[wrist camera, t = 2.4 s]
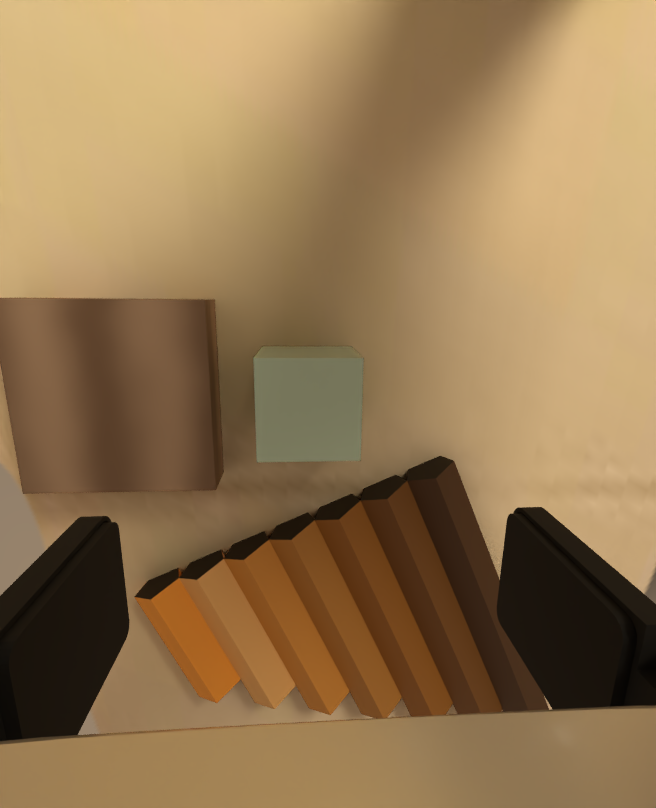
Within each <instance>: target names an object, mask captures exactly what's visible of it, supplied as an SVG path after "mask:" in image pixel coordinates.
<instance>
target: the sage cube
mask: <svg viewBox="0 0 656 808" xmlns="http://www.w3.org/2000/svg"><path fill="white" fill-rule="evenodd" d="M253 361H254V393H255V425H256V456H257V462H319V461H361V433H362V400H363V366H364V358H363V357H362V356H361V355H360V354H359V353H358V352H357V351H356V350H355V349H354V348H352V347H351V346H262V347H261V349H260V350H259V351H258V353H257V354H256V355H255V357H254V358H253Z"/></svg>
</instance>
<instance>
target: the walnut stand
mask: <svg viewBox="0 0 656 808" xmlns="http://www.w3.org/2000/svg"><path fill="white" fill-rule="evenodd" d="M0 364H1V369H2V375H3V381H4V387H5V393H6V398H7V404H8V410H9V416H10V421H11V427H12V433H13V439H14V445H15V450H16V456H17V462H18V468H19V474H20V479H21V485H22V491H23V494H27V493H81V492H135V491H189V490H216V488H217V486H218V484H219V481H220V479H221V477H222V474H223V472H224V470H223V450H222V431H221V412H220V392H219V373H218V353H217V334H216V314H215V300H192V299H88V298H0Z"/></svg>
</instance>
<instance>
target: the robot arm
mask: <svg viewBox="0 0 656 808" xmlns="http://www.w3.org/2000/svg"><path fill="white" fill-rule="evenodd" d="M497 617H498V620H499V623H500V625H501V626H502V628H503V630H504V631H505V633H506V635H507V636H508V638H509V639H510V641H511V643H512V644H513V646H514V647H515V649H516V651H517V652H518V654H519V656H520V657H521V659H522V660H523V662H524V664H525V665H526V667H527V668H528V670H529V672H530V673H531V675H532V677H533V678H534V680H535V681H536V683H537V685H538V686H539V688H540V689H541V691H542V693H543V694H544V696H545V698H546V699H547V701H548V702H549V704H550V706H551V707H552V709H553V710H531V711H510V712H489V713H469V714H450V715H430V716H411V717H392V718H373V719H354V720H335V721H317V722H298V723H280V724H262V725H244V726H226V727H208V728H190V729H174V730H157V731H140V732H123V733H106V734H89V735H78V733H79V731H80V729H81V727H82V725H83V723H84V721H85V719H86V717H87V715H88V713H89V711H90V709H91V707H92V705H93V703H94V701H95V699H96V697H97V695H98V693H99V691H100V689H101V687H102V685H103V683H104V681H105V679H106V678H107V676H108V674H109V672H110V670H111V668H112V666H113V664H114V662H115V660H116V658H117V656H118V654H119V652H120V650H121V648H122V646H123V644H124V642H125V640H126V638H127V635H128V630H129V614H128V606H127V597H126V588H125V579H124V570H123V561H122V553H121V544H120V535H119V528H118V525H117V523H116V522H111V520H110V518H109V517H107V516H93V517H80V518H78V519H77V520H76V521H75V522H74V523H73V524H72V525H71V526H70V527H69V528H68V529H67V530H66V531H65V532H64V533H63V534H62V535H61V536H60V537H59V538H58V539H57V540H56V541H55V542H54V543H53V544H52V545H51V546H50V547H49V548H48V549H47V550H46V551H45V552H44V553H43V554H42V555H41V556H40V557H39V558H38V559H37V560H36V561H35V562H34V563H33V564H32V565H31V566H30V567H29V568H28V569H27V570H26V571H25V572H24V573H23V574H22V575H21V576H20V577H19V578H18V579H17V580H16V581H15V582H14V583H13V584H12V585H11V586H10V587H9V588H8V589H7V590H6V591H5V592H4V593H3V594H2V595H1V596H0V808H656V604H655V603H654V602H653V601H651V600H650V599H649V598H648V597H647V596H646V595H644V594H643V593H642V592H641V591H640V590H639V589H637V588H636V587H635V586H634V585H633V584H632V583H630V582H629V581H628V580H627V579H626V578H625V577H623V576H622V575H621V574H620V573H619V572H617V571H616V570H615V569H614V568H613V567H612V566H610V565H609V564H608V563H607V562H606V561H605V560H603V559H602V558H601V557H600V556H599V555H598V554H596V553H595V552H594V551H593V550H592V549H591V548H589V547H588V546H587V545H586V544H585V543H584V542H582V541H581V540H580V539H579V538H578V537H577V536H575V535H574V534H573V533H572V532H571V531H570V530H568V529H567V528H566V527H565V526H564V525H563V524H561V523H560V522H559V521H558V520H557V519H555V518H554V517H553V516H552V515H551V514H550V513H548V512H547V511H546V510H545V509H544V508H542V507H527V508H517V509H515V511H514V514H510V515H509V516H508V518H507V525H506V533H505V541H504V550H503V558H502V566H501V575H500V583H499V591H498V599H497Z"/></svg>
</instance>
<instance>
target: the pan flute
mask: <svg viewBox="0 0 656 808" xmlns="http://www.w3.org/2000/svg"><path fill="white" fill-rule="evenodd" d="M499 583H500V580H499V577H498V575H497V572H496V570H495V567H494V564H493V562H492V559H491V557H490V554H489V551H488V549H487V546H486V543H485V541H484V538H483V536H482V533H481V530H480V528H479V525H478V523H477V520H476V517H475V515H474V512H473V509H472V507H471V504H470V502H469V499H468V496H467V494H466V491H465V489H464V486H463V483H462V481H461V478H460V475H459V473H458V470H457V468H456V465H455V462H454V461H453V460H450V459H447V458H445V457H442V456H439V457H437V458H434V459H432V460H429V461H427V462H425V463H422V464H420V465H418V466H415V467H413V468H411V469H408V477H407V481H406V480H404V479H403V478H401V477H399V476H397V475H394V476H392V477H390V478H387V479H385V480H383V481H380V482H378V483H376V484H373V485H371V486H369V487H366V488H364V490H363V494H362V497H361V501H360V500H359V499H358V498H356V497H355V496H354V495H352V494H350V495H348V496H345V497H343V498H341V499H338V500H336V501H334V502H331V503H329V504H327V505H324V506H322V507H320V508H319V511H318V513H317V516H316V518H315V520H314V519H313V518H312V517H311V516H310V515H309V513H306V514H303V515H301V516H299V517H296V518H294V519H291V520H289V521H287V522H284V523H282V524H280V525H277V526H276V528H275V529H274V531H273V533H272V535H271V537H270V539H268V537H267V535H266V533H265V532H264V531H263V532H261V533H259V534H256V535H254V536H252V537H249V538H247V539H245V540H242V541H240V542H238V543H235V544H233V545H232V547H231V549H230V550H229V552H228V553H227V555H226V556H225V555H224V554H223V552H222V550H219V551H217V552H214V553H212V554H210V555H207V556H205V557H203V558H200V559H198V560H196V561H193V562H191V563H190V564H189V565H188V567H187V568H186V569H185V571H184V572H183V573H181V571H180V570H179V568H177V569H175V570H172V571H170V572H168V573H165V574H163V575H161V576H158V577H156V578H154V579H151V580H149V581H147V583H146V584H145V585H144V586H143V587H142V589H141V590H140V591H139V592H138V593H137V595H136V596H135V599H136V600H137V602H138V603H139V605H140V606H141V608H142V609H143V611H144V612H145V614H146V615H147V617H148V619H149V620H150V622H151V623H152V625H153V626H154V628H155V629H156V631H157V632H158V634H159V635H160V637H161V638H162V640H163V642H164V643H165V645H166V646H167V648H168V649H169V651H170V652H171V654H172V655H173V657H174V658H175V660H176V661H177V663H178V665H179V666H180V668H181V669H182V671H183V672H184V674H185V675H186V677H187V678H188V680H189V681H190V683H191V684H192V686H193V688H194V689H195V691H196V692H197V694H198V695H199V697H202V698H205V699H207V700H210V701H213V702H215V703H218V702H219V701H220V700H221V699H222V698H223V697H224V696H225V695H226V694H227V693H228V692H229V691H230V690H231V689H232V688H233V687H234V686H235V685H236V684H237V683H238V682H239V681H240V680H241V681H242V682H243V684H244V685H245V687H246V689H247V690H248V692H249V694H250V695H251V697H252V699H253V700H254V702H255V703H258V704H261V705H264V706H267V707H270V708H273V709H275V708H276V707H277V706H278V705H279V704H280V703H281V701H282V700H283V699H284V698H285V697H286V696H287V695H288V694H289V693H290V692H291V691H292V689H293V688H294V687H295V686H297V688H298V690H299V692H300V693H301V695H302V697H303V699H304V700H305V702H306V704H307V706H308V707H309V708H310V709H313V710H316V711H319V712H322V713H325V714H329V715H331V714H332V713H333V711H334V710H335V709H336V708H337V706H338V705H339V704H340V703H341V702H342V700H343V699H344V698H345V697H346V696H347V694H348V693H349V692H350V693H351V695H352V697H353V699H354V701H355V702H356V704H357V706H358V708H359V710H360V712H361V714H364V715H367V716H370V717H374V718H387V717H388V716H389V714H390V713H391V712H392V710H393V709H394V708H395V706H396V705H397V704H398V702H399V701H400V700H401V698H403V700H404V702H405V705H406V707H407V709H408V711H409V713H410V715H411V716H430V715H446V713H447V711H448V710H449V708H450V707H451V705H452V704H454V707H455V709H456V711H457V713H458V714H469V713H489V712H501V710H502V709H503V711H504V712H510V711H531V710H549V708H548V706H547V703H546V700H545V698H544V695H543V693H542V691H541V689H540V688H539V686H538V685H537V683H536V681H535V680H534V678H533V677H532V675H531V673H530V672H529V670H528V668H527V667H526V665H525V664H524V662H523V660H522V659H521V657H520V656H519V654H518V652H517V651H516V649H515V647H514V646H513V644H512V643H511V641H510V639H509V638H508V636H507V635H506V633H505V631H504V630H503V628H502V626H501V625H500V623H499V620H498V617H497V599H498V591H499Z"/></svg>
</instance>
